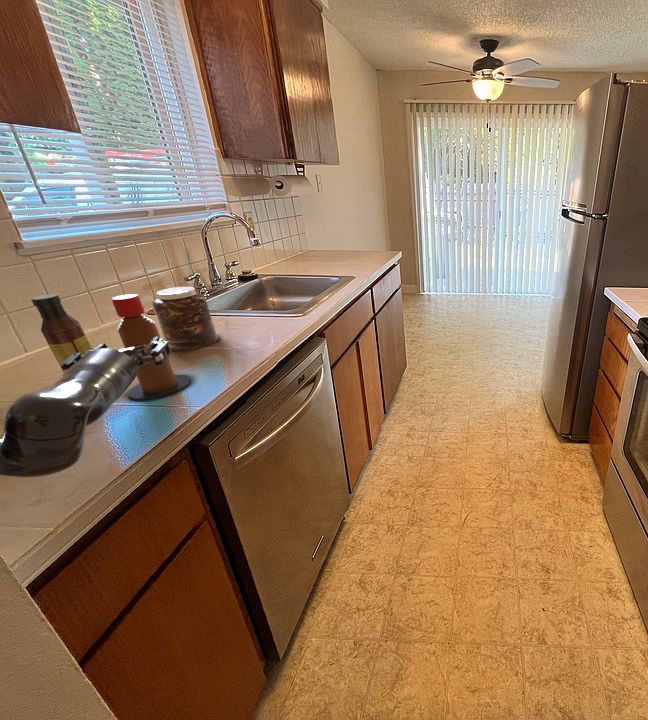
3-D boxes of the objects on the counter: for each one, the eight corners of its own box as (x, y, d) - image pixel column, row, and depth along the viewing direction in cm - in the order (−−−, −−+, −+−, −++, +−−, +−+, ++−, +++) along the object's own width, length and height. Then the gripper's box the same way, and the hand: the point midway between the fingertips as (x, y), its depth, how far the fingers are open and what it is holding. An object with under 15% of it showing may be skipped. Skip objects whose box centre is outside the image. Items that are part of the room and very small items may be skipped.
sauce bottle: (102, 371, 95) (64, 290, 87) (110, 378, 92) (72, 294, 83) (65, 382, 90) (22, 297, 82) (72, 390, 87) (28, 301, 78)
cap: (113, 317, 78) (105, 299, 76) (131, 311, 82) (124, 294, 80) (132, 317, 78) (125, 299, 76) (149, 311, 81) (143, 294, 80)
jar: (217, 332, 119) (201, 282, 112) (218, 344, 110) (202, 291, 103) (168, 341, 113) (149, 289, 107) (166, 354, 104) (145, 298, 98)
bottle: (135, 392, 84) (97, 303, 76) (158, 379, 89) (124, 295, 81) (162, 393, 84) (127, 303, 75) (183, 380, 89) (152, 295, 81)
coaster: (115, 400, 82) (113, 398, 82) (157, 376, 92) (156, 374, 92) (165, 401, 82) (164, 399, 81) (202, 377, 92) (201, 375, 91)
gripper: (52, 409, 63) (94, 368, 77) (160, 390, 68) (182, 355, 82) (29, 366, 60) (77, 332, 74) (144, 350, 65) (169, 321, 79)
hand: (132, 344), depth 78 cm, fingers open, 8 cm apart
